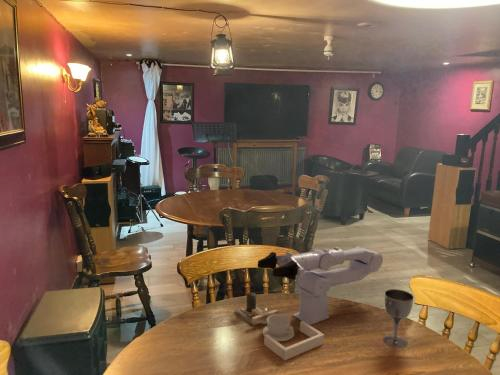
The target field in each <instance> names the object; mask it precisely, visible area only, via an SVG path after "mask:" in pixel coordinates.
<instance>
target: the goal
mask: <svg viewBox="0 0 500 375" xmlns="http://www.w3.org/2000/svg"><path fill="white" fill-rule="evenodd" d="M299 331H300V332H301V333H303V334H304V335H306V336H308V337H307V338H306V339H304V340H302V341H299V342H296V343H294V344H292V345H289V346H287V347H285V346H284V345H282V344H281V343H280V342H279V341H276V340H274V339H273V338H272V337H270V336H269V335H267V334H266V335H263V336H264V337H263V338H264V339H263V340H264V341H263V342H264V343H263V344H264V346H265V347H266V348H267V349H269V350H271V351H272V352H273V353H275V354H276V355H277V356H279V358H281V359H282V360H284V361H287V360H289V359H291V358H294V357H296V356H299V355H301V354H303V353H305V352H308V351H310V350H312V349H315V348H317V347H319V346H321V345H324V344H325V343H324V342H325V333H322V332H321V331H319V330H318V329H316V328H315V327H313V326H311V325H308V324H307V323H305V322H303V321H301V320H300V322H299Z"/></svg>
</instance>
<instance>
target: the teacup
mask: <svg viewBox="0 0 500 375" xmlns="http://www.w3.org/2000/svg"><path fill="white" fill-rule="evenodd" d="M291 322H292V321H291V319H290V317H288V316H287V315H285V314H275V315H271V316H269V317H268V318H267V320H266V325H267V326H265V327H264V328H263V329H262V334H263V336H264V335H266V334H267V335H269V336H270V337H272V338H273V339H274V340H276V341H277V342H285V341H289V340H292V338H294V336H295V330H294V327H293V326H292V325H291Z"/></svg>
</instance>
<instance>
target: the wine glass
mask: <svg viewBox="0 0 500 375" xmlns="http://www.w3.org/2000/svg"><path fill="white" fill-rule="evenodd" d="M413 304H414V296H413V294H412V293H410V292H409V291H406V290H402V289H397V288H392V289H387V290H385V292H384V306H385V311H386V313H387V315H388V316H389V317H390V318H391V320H392V321H393V323H394V324H393V326H394V333H393V334H385V335H384V336H383V337H382V341H383V342H384V343H385V344H387V345H388V346H390V347H394V348H405V347H407V346H408V341H407V339H406V338H404V337H402V336H400V335H398V331H399V330H398V328H399V325H400V323H402V321H403V320H405V319H406V318H408V317H409V316H410V314H411V311H412V308H413Z"/></svg>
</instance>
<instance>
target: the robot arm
mask: <svg viewBox="0 0 500 375" xmlns="http://www.w3.org/2000/svg"><path fill="white" fill-rule="evenodd" d="M347 261H349V264H348V267H347V266H346V267H341V268H335V269H331V270H329V269H330V268H332V267H334V266H340V265H341V266H342V265H343V264H345V262H347ZM383 263H384V258H383V254H382V253H380V252H376V251H374V250H371V249H369V248H365V247H363V246H354V248H350V249H345V250H343V249H341V248H339V247H338V246H334V247H333V248H329V249H328V248H323V249H322V250H320V249H318V248H311V250H310V251H309V252H308V251H307V252H302V253H294V254H293V253H292V252H290V251H286V253H285V254H281V255H277V253H276V251H275V252H274V251H271V252H270V253H269V254H268V255H267V256H266V257H263V258H262V259H261V258H260V259H259V260H258V261H257V268H259V269H271V270H272V276H273V277H278V278H287V279H290V280H293V281H295V285H296V286H297V287H298V291H299V302H298V304H299V306H298V312H295V313H293V315H292V316H293V317H295V318H297V319H298V320H300V322H301V321H303V322H305V323H307V324H308V325H310V326H311V325H314V324H316V323H319V322H321V321H324V320H326V319H329V318H330V316H329V315H328V309H329V297H328V294H327V293H329V292H330V290H331V287H335V286H340V285H344V284H349V283H353V282H354V283H355V282H357V281H361V280H363V279H365V278H366V277H367V276H368V275H370V274H371V273H375V272H379V270H380V268H381V267H382V264H383ZM317 269H318V270H319V269H320V270H322V271H315V270H317Z"/></svg>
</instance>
